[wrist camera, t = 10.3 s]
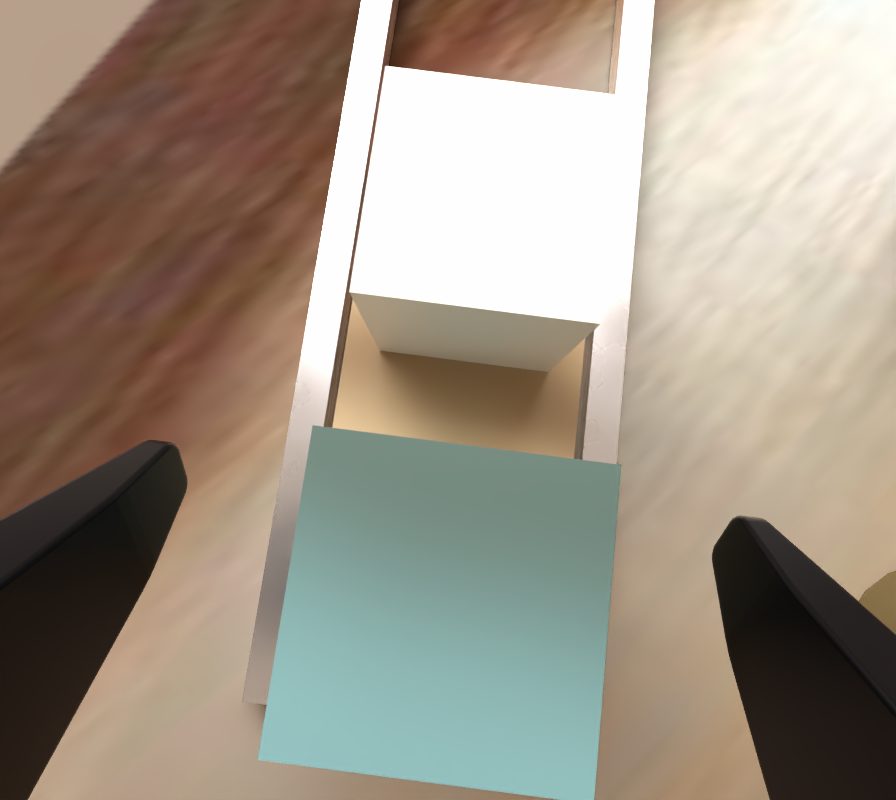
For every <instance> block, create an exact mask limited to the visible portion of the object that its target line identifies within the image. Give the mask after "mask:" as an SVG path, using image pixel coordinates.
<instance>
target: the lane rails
mask: <svg viewBox="0 0 896 800" xmlns="http://www.w3.org/2000/svg"><path fill="white" fill-rule="evenodd" d="M654 1H655V0H617V2H616V12H615V23H614V34H613V45H612V55H611V66H610V77H609V87H608V94H615V95H621V101H620V112H619V123H618V135H617V146H616V157H615V168H614V179H613V190H612V202H611V213H610V224H609V235H608V246H607V257H606V269H605V280H604V291H603V302H602V313H601V324H600V325H599V326H598V327H597V328H596V329H595V330H593V331H592V332H591V333H590V334H589V335H588V336H587V337H586V338H585V345H584V356H583V366H582V377H581V388H580V398H579V409H578V420H577V430H576V441H575V452H574V459H580V460H587V461H595V462H603V463H611V464H617V453H618V440H619V428H620V416H621V404H622V392H623V379H624V367H625V355H626V343H627V331H628V318H629V306H630V294H631V282H632V270H633V257H634V245H635V233H636V221H637V209H638V196H639V184H640V172H641V160H642V148H643V135H644V123H645V111H646V99H647V87H648V74H649V62H650V50H651V38H652V26H653V13H654ZM398 4H399V0H361V6H360V12H359V18H358V24H357V30H356V35H355V41H354V47H353V53H352V59H351V65H350V71H349V76H348V82H347V88H346V94H345V100H344V106H343V112H342V118H341V123H340V129H339V135H338V141H337V147H336V153H335V159H334V164H333V170H332V176H331V182H330V188H329V194H328V200H327V206H326V211H325V217H324V223H323V229H322V235H321V241H320V247H319V252H318V258H317V264H316V270H315V276H314V282H313V288H312V293H311V299H310V305H309V311H308V317H307V323H306V329H305V335H304V340H303V346H302V352H301V358H300V364H299V370H298V376H297V381H296V387H295V393H294V399H293V405H292V411H291V417H290V423H289V428H288V434H287V440H286V446H285V452H284V458H283V464H282V469H281V475H280V481H279V487H278V493H277V499H276V505H275V511H274V516H273V522H272V528H271V534H270V540H269V546H268V552H267V557H266V563H265V569H264V575H263V581H262V587H261V593H260V598H259V604H258V610H257V616H256V622H255V628H254V634H253V640H252V645H251V651H250V657H249V663H248V669H247V675H246V681H245V686H244V692H243V698H242V702H249V703H256V704H264V705H267V700H268V694H269V688H270V682H271V676H272V670H273V664H274V657H275V651H276V645H277V639H278V633H279V627H280V621H281V615H282V609H283V603H284V597H285V590H286V584H287V578H288V572H289V566H290V560H291V554H292V548H293V542H294V536H295V530H296V523H297V517H298V511H299V505H300V499H301V493H302V487H303V481H304V475H305V469H306V463H307V456H308V450H309V444H310V438H311V432H312V426H313V425H315V426H323V427H331V425H332V419H333V413H334V406H335V400H336V394H337V387H338V381H339V375H340V369H341V362H342V356H343V350H344V343H345V337H346V331H347V325H348V318H349V312H350V306H351V299H352V296H351V294H350V293H349V290H350V284H351V278H352V272H353V265H354V259H355V253H356V247H357V240H358V234H359V228H360V222H361V215H362V209H363V203H364V197H365V190H366V184H367V178H368V172H369V165H370V159H371V153H372V147H373V140H374V134H375V128H376V122H377V116H378V109H379V103H380V97H381V91H382V84H383V78H384V72H385V66H389V61H390V54H391V48H392V42H393V36H394V29H395V23H396V17H397V10H398Z"/></svg>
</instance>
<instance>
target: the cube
mask: <svg viewBox="0 0 896 800" xmlns="http://www.w3.org/2000/svg"><path fill="white" fill-rule="evenodd" d="M620 101H621V95H615V94H607V93H599V92H591V91H583V90H575V89H567V88H559V87H551V86H543V85H535V84H527V83H519V82H511V81H503V80H495V79H487V78H479V77H471V76H463V75H455V74H447V73H439V72H431V71H423V70H415V69H407V68H399V67H391V66H385V72H384V78H383V84H382V91H381V97H380V103H379V109H378V116H377V122H376V128H375V134H374V140H373V147H372V153H371V159H370V165H369V172H368V178H367V184H366V190H365V197H364V203H363V209H362V215H361V222H360V228H359V234H358V240H357V247H356V253H355V259H354V265H353V272H352V278H351V284H350V290H349V293H350V294H351V296H352V298H353V300H354V302H355V304H356V306H357V308H358V310H359V312H360V314H361V316H362V318H363V320H364V322H365V323H366V325H367V327H368V329H369V331H370V333H371V335H372V337H373V339H374V341H375V343H376V345H377V347H378V349H379V350H380V351H387V352H395V353H403V354H411V355H419V356H427V357H434V358H442V359H450V360H458V361H466V362H474V363H481V364H489V365H497V366H505V367H513V368H520V369H528V370H536V371H544V372H549V371H550V370H551V369H552V368H553V367H554V366H555V365H557V364H558V363H559V362H560V361H561V360H562V359H563V358H564V357H565V356H566V355H567V354H569V353H570V352H571V351H572V350H573V349H574V348H575V347H576V346H577V345H578V344H579V343H580V342H582V341H583V340H584V339H585V338H586V337H587V336H588V335H589V334H590V333H591V332H592V331H593V330H595V329H596V328H597V327H598V326H599V325H600V324H601V313H602V302H603V291H604V280H605V269H606V257H607V246H608V235H609V224H610V213H611V202H612V190H613V179H614V168H615V157H616V146H617V135H618V123H619V112H620Z"/></svg>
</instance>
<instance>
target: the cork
mask: <svg viewBox="0 0 896 800" xmlns="http://www.w3.org/2000/svg"><path fill="white" fill-rule="evenodd" d="M859 602H860V603H861V604H862V605H863V606H864V607H865V608H867V609H868V610H869V611H870V612H871V613H872V614H873V615H875V616H876V617H877V618H878V619H879V620H880V621H881V622H882V623H884V624H885V625H886V626H887V627H888V628H889V629H890V630H892V631H893V632H894V633H895V634H896V571H894V572H891V573H889V574H887V575H886V576H885V577H883V578H882V579H881V580H879V581H878V582H877V583H875V584H874V585H873V586H871V587H870V588H869V589H868V590H866V591H865V593H864V594H863V596H862V597H861V599H860V601H859Z"/></svg>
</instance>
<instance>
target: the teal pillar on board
mask: <svg viewBox="0 0 896 800" xmlns="http://www.w3.org/2000/svg"><path fill="white" fill-rule="evenodd" d="M584 345H585V339H584V340H583V341H582V342H580V343H579V344H578V345H577V346H576V347H575V348H574V349H573V350H572V351H571V352H570V353H569V354H567V355H566V356H565V357H564V358H563V359H562V360H561V361H560V362H559V363H558V364H557V365H555V366H554V367H553V368H552V369H551V370H550V371H549V372H544V371H536V370H528V369H520V368H513V367H505V366H497V365H489V364H481V363H474V362H466V361H458V360H450V359H442V358H434V357H427V356H419V355H411V354H403V353H395V352H387V351H380V350H379V349H378V347H377V345H376V343H375V341H374V339H373V337H372V335H371V333H370V331H369V329H368V327H367V325H366V323H365V322H364V320H363V318H362V316H361V314H360V312H359V310H358V308H357V306H356V304H355V302H354V300H352V306H351V313H350V319H349V325H348V331H347V338H346V344H345V350H344V357H343V363H342V369H341V375H340V382H339V388H338V394H337V401H336V407H335V413H334V420H333V426H332V428H331V427H323V426H315V425H313V426H312V432H311V438H310V444H309V450H308V456H307V463H306V469H305V475H304V481H303V487H302V493H301V499H300V505H299V511H298V517H297V523H296V530H295V536H294V542H293V548H292V554H291V560H290V566H289V572H288V578H287V584H286V590H285V597H284V603H283V609H282V615H281V621H280V627H279V633H278V639H277V645H276V651H275V657H274V664H273V670H272V676H271V682H270V688H269V694H268V700H267V706H266V712H265V718H264V724H263V731H262V737H261V743H260V749H259V755H258V760H262V761H270V762H277V763H285V764H293V765H300V766H308V767H315V768H323V769H330V770H338V771H346V772H353V773H361V774H368V775H376V776H384V777H391V778H399V779H406V780H414V781H421V782H429V783H437V784H444V785H452V786H459V787H467V788H475V789H482V790H490V791H497V792H505V793H512V794H520V795H528V796H535V797H543V798H550V799H558V800H594V795H595V783H596V770H597V758H598V745H599V733H600V721H601V708H602V696H603V683H604V671H605V659H606V646H607V634H608V622H609V609H610V597H611V584H612V572H613V560H614V547H615V535H616V522H617V510H618V498H619V485H620V473H621V465H618V464H611V463H603V462H595V461H587V460H580V459H574V452H575V441H576V430H577V420H578V409H579V398H580V388H581V377H582V366H583V356H584Z"/></svg>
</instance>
